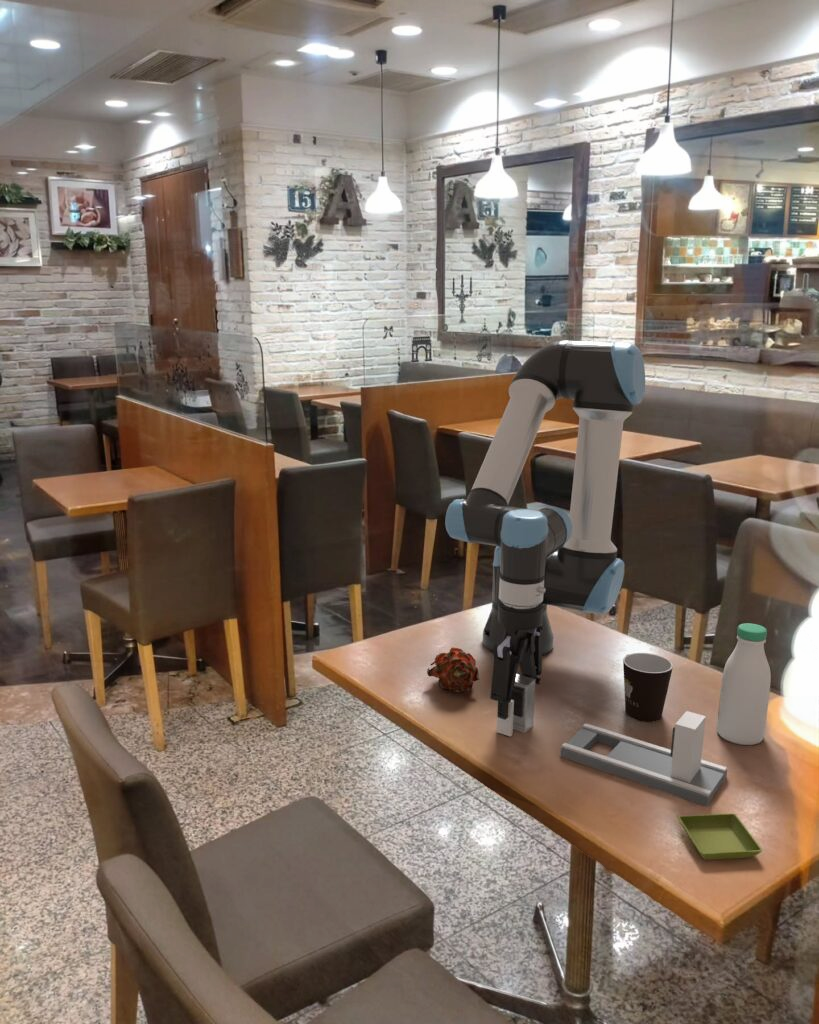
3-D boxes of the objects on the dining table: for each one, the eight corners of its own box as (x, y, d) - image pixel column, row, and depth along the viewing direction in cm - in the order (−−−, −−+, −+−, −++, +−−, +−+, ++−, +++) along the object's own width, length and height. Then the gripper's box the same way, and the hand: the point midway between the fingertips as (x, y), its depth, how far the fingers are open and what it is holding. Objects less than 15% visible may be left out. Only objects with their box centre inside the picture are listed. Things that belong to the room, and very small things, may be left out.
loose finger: (532, 726, 154) (535, 679, 152) (523, 734, 151) (525, 686, 149) (506, 717, 157) (508, 671, 154) (497, 725, 154) (499, 678, 152)
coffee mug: (669, 727, 154) (675, 675, 151) (619, 722, 155) (623, 670, 153) (664, 697, 165) (669, 648, 162) (618, 693, 167) (621, 644, 164)
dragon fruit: (467, 710, 162) (436, 693, 173) (497, 677, 165) (465, 662, 176) (442, 679, 159) (412, 664, 170) (473, 646, 162) (442, 633, 172)
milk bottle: (772, 744, 148) (787, 635, 143) (730, 748, 147) (743, 637, 142) (748, 722, 156) (761, 617, 151) (708, 725, 155) (719, 620, 149)
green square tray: (762, 864, 118) (763, 850, 118) (700, 867, 118) (701, 853, 117) (733, 825, 127) (735, 812, 126) (675, 828, 126) (676, 815, 125)
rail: (585, 732, 152) (589, 676, 149) (726, 776, 139) (733, 716, 136) (560, 756, 144) (563, 698, 141) (706, 806, 131) (713, 743, 128)
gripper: (512, 624, 138) (506, 755, 144) (566, 590, 154) (559, 709, 159) (471, 613, 142) (467, 741, 148) (528, 581, 158) (522, 698, 164)
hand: (514, 724), depth 154 cm, fingers open, 7 cm apart
